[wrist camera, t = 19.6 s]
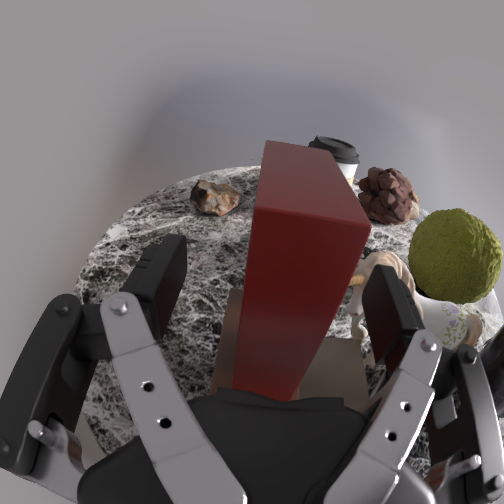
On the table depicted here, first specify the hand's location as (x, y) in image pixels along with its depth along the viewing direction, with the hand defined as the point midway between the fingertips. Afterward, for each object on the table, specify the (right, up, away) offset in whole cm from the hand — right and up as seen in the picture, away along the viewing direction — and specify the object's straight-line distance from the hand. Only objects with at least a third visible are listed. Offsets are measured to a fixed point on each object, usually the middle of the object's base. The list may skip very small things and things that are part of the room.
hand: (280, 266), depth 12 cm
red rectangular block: (-1, -7, +4) cm, 7 cm away
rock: (-8, +9, +39) cm, 40 cm away
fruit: (+28, -6, +26) cm, 39 cm away
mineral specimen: (+25, +8, +44) cm, 51 cm away
